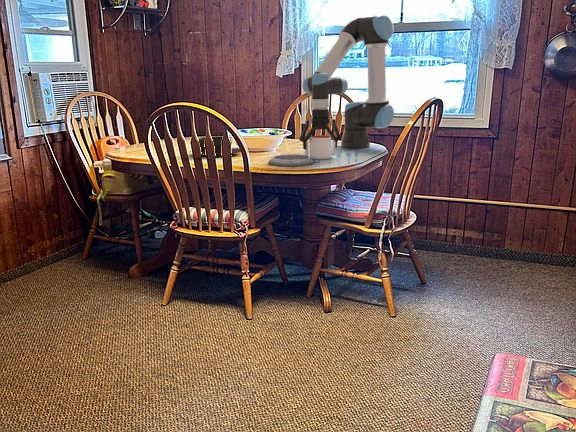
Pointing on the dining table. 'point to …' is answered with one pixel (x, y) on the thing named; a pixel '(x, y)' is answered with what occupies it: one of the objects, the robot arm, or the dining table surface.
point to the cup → (320, 147)
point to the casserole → (217, 145)
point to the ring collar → (291, 160)
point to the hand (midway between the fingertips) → (320, 155)
